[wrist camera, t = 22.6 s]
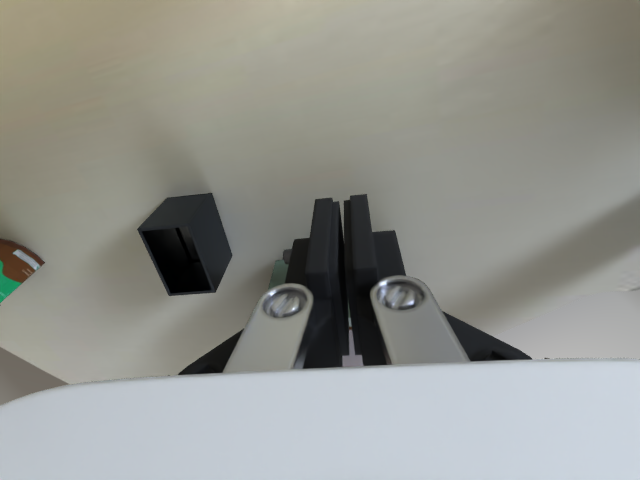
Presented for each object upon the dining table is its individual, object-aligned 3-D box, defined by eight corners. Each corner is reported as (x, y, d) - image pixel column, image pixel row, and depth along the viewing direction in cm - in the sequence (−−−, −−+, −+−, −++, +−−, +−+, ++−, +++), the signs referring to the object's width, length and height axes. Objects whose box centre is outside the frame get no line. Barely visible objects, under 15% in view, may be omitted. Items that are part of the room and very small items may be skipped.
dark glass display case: (166, 197, 37) (136, 228, 32) (212, 192, 37) (189, 223, 31) (191, 259, 42) (168, 296, 36) (232, 255, 41) (215, 292, 36)
